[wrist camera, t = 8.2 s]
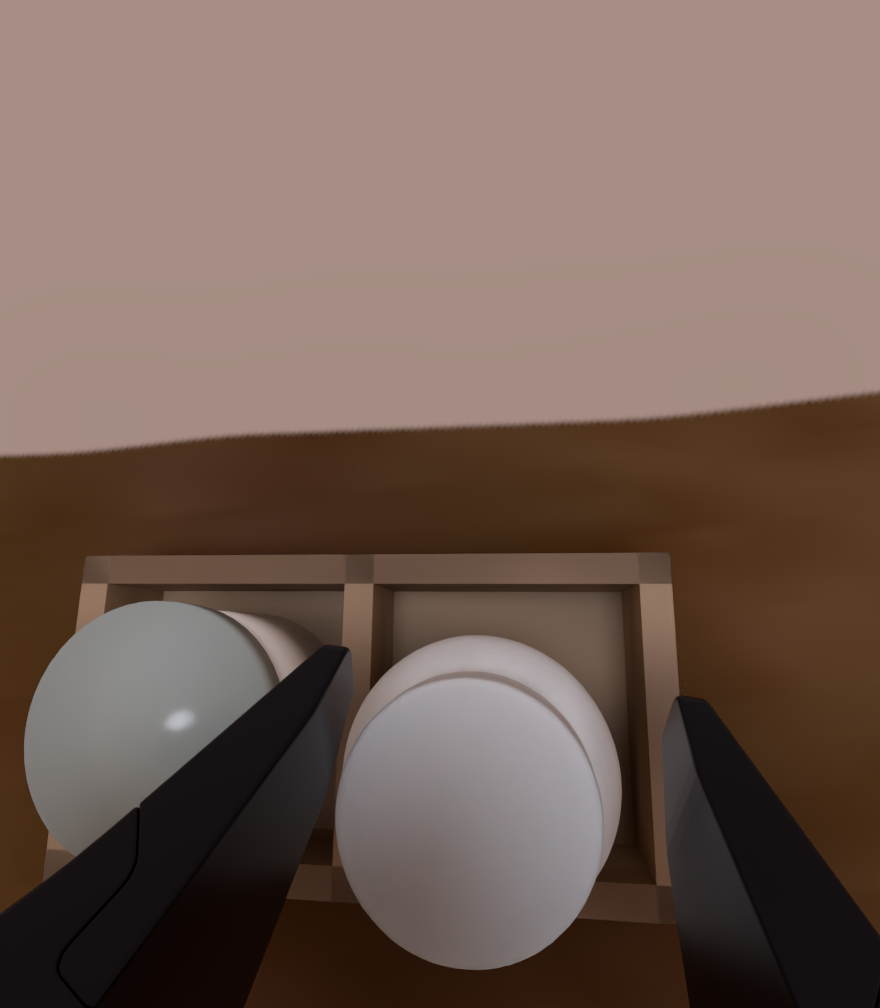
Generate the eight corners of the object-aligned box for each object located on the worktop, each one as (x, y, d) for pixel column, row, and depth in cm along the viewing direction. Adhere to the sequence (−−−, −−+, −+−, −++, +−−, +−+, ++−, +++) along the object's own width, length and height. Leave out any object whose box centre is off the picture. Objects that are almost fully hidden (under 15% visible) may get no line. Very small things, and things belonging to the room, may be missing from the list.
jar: (341, 805, 18) (258, 883, 13) (162, 797, 19) (5, 867, 13) (348, 611, 20) (276, 600, 14) (180, 610, 20) (43, 600, 14)
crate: (661, 870, 17) (695, 926, 14) (125, 840, 20) (42, 882, 16) (643, 567, 19) (669, 552, 16) (154, 568, 21) (85, 555, 18)
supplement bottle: (605, 807, 17) (708, 1002, 8) (422, 843, 18) (320, 1068, 9) (558, 618, 19) (599, 600, 9) (387, 655, 19) (266, 673, 10)
